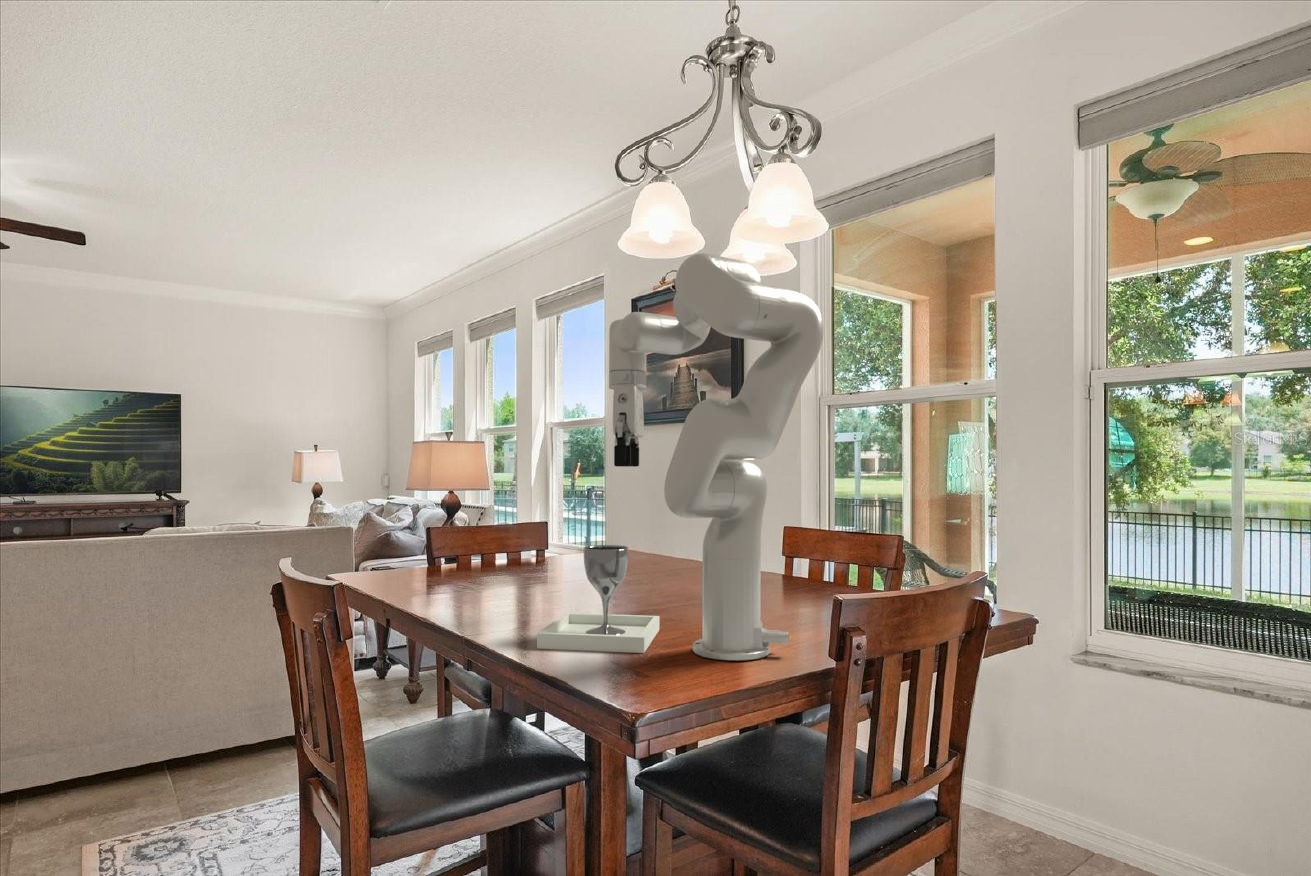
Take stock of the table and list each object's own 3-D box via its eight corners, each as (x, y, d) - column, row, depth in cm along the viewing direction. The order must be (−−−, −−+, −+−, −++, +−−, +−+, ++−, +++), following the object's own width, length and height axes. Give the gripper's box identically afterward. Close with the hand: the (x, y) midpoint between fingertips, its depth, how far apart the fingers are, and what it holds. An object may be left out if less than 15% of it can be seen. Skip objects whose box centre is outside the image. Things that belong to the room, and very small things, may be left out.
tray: (659, 629, 142) (659, 616, 142) (644, 653, 124) (644, 637, 124) (565, 626, 144) (565, 612, 144) (537, 648, 126) (537, 633, 127)
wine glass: (600, 625, 141) (600, 544, 142) (636, 630, 137) (636, 546, 138) (574, 633, 135) (574, 547, 135) (611, 638, 130) (611, 550, 131)
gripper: (638, 376, 144) (638, 466, 144) (652, 385, 161) (651, 466, 161) (600, 376, 145) (599, 466, 145) (617, 386, 163) (617, 466, 162)
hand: (627, 466), depth 153 cm, fingers open, 9 cm apart
